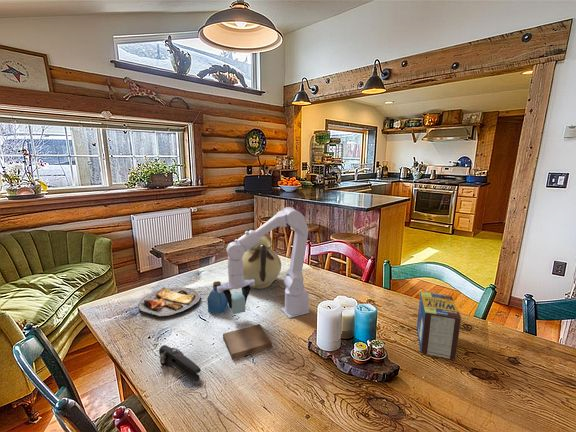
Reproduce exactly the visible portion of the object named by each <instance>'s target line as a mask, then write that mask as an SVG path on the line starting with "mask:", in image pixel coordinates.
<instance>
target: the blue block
mask: <svg viewBox="0 0 576 432" xmlns="http://www.w3.org/2000/svg"><path fill="white" fill-rule="evenodd" d="M231 294H232V295H231V303H232V308H229V307H228V308H229V310H230V312H231V314H232V315H237V314H241V313H245V312H246V305H245V297H244V296H243V294H242V291H241V292H235V293H231Z"/></svg>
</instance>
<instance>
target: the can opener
mask: <svg viewBox="0 0 576 432" xmlns="http://www.w3.org/2000/svg"><path fill="white" fill-rule="evenodd" d="M158 353H159V355H158V356H159V363H160V366H162V367H167V366H172V367H174V368H175V369H177V370H178V371H179V372H180V373H181V374H183V375H184V376H186V377H187V378H189V379H190V380H191V379H192V380H193V381H198V380H200V378H201V377H200V375H199V373H200V372H201V371H202V370H201V367H200V366H198V365H197V364H196V363H195V362H194V361H193V360H191V359H190V358H189V357H187V355H186V356H185V355H184V353H183V352H182V351H181V350H180V349H178V348H176V347H170V346H169V345H167V344H164V345H161V346H160V347H159V350H158Z"/></svg>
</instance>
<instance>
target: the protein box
mask: <svg viewBox="0 0 576 432" xmlns="http://www.w3.org/2000/svg"><path fill="white" fill-rule="evenodd" d="M418 303H419V304H418V312H417V320H416V321H417V322H416V332H417V339H418V344H419V351H420V352H421V353H423V354H422V355H425V354H428V355H427V356H429V355H432V356H431V357H434V356H437V357H436V358H439V357H443V358H442V359H444V358H449V359H454V360H455V361H456V358H457V350H458V344H459V336H460V332H461V331H460V329H461V322H462V316H461V313H460V311H459V309H458V307H457V305H456V303H455V301H454V298H453V296H452V295H448V294H440V293H433V292H426V291H420V293H419V302H418ZM421 353H420V354H421ZM449 359H448V360H449ZM454 360H453V361H454Z"/></svg>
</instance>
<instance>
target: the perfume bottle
mask: <svg viewBox="0 0 576 432" xmlns="http://www.w3.org/2000/svg"><path fill="white" fill-rule="evenodd" d="M221 283H222V282H221V281H214V282H213V283H212V284H213V285H212V290H211V291H210V293H209V295H208V297H206V298H207V313H214V314H223V313H224V312H225V310H226V309H227V308H229V305H228V301H227V298H226V296H225V294H224V293H223V291H222V292H221V293H218V291H217V286H221V285H222V284H221Z"/></svg>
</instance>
